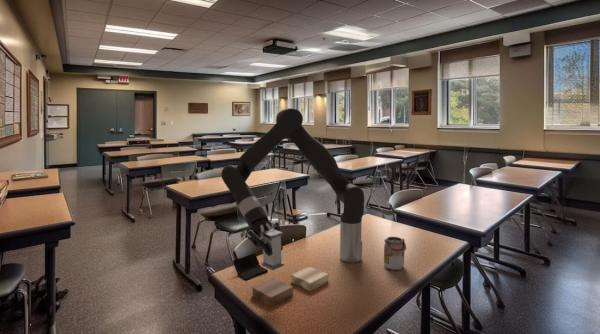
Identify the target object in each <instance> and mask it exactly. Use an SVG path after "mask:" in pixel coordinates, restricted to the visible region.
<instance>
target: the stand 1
mask: <svg viewBox="0 0 600 334" xmlns="http://www.w3.org/2000/svg"><path fill="white" fill-rule="evenodd" d="M293 295H294V286H292V285H290V284H288V283H286V282H285V281H284V282H283V280H280V279H277V278H275V277H273V278H270V279H268V280H266V281H264V282H262V283H259V284H257V285H255V286H253V287H252V296H253V297H255V298H257V299H258V300H260V301H262V302H264V303H265V304H267V305H269V306H270V307H273V306H275V305H276V304H278V303H281V302H282V301H284V300H286V299H288V298H290V297H292V296H293Z"/></svg>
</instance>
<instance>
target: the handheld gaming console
mask: <svg viewBox="0 0 600 334" xmlns="http://www.w3.org/2000/svg"><path fill="white" fill-rule="evenodd" d="M232 264H233V266H234V269H235V271H236V273H237V277H239V278H241V279H242V280H245V281H248V280H250V279H253V278H256V277H258V276H261V275H264V274H266V273H268V268H266V267H264V266H262V265H261V264H260V262H259V260H258V257H257V255H256V253H252V254H248V255H245V256H243V257H239V258H237V259H233V261H232Z"/></svg>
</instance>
